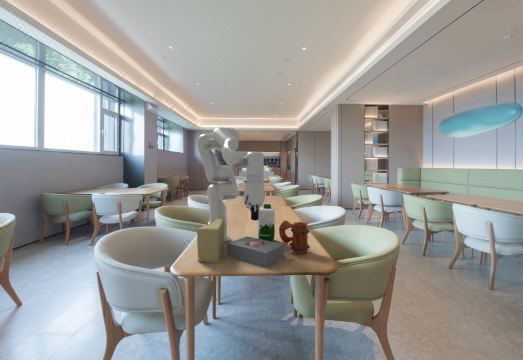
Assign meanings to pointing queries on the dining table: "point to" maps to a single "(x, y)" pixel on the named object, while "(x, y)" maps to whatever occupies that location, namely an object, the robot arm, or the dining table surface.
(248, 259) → the box
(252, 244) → the call button
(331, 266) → the dining table surface
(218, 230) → the cheese
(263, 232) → the milk carton
